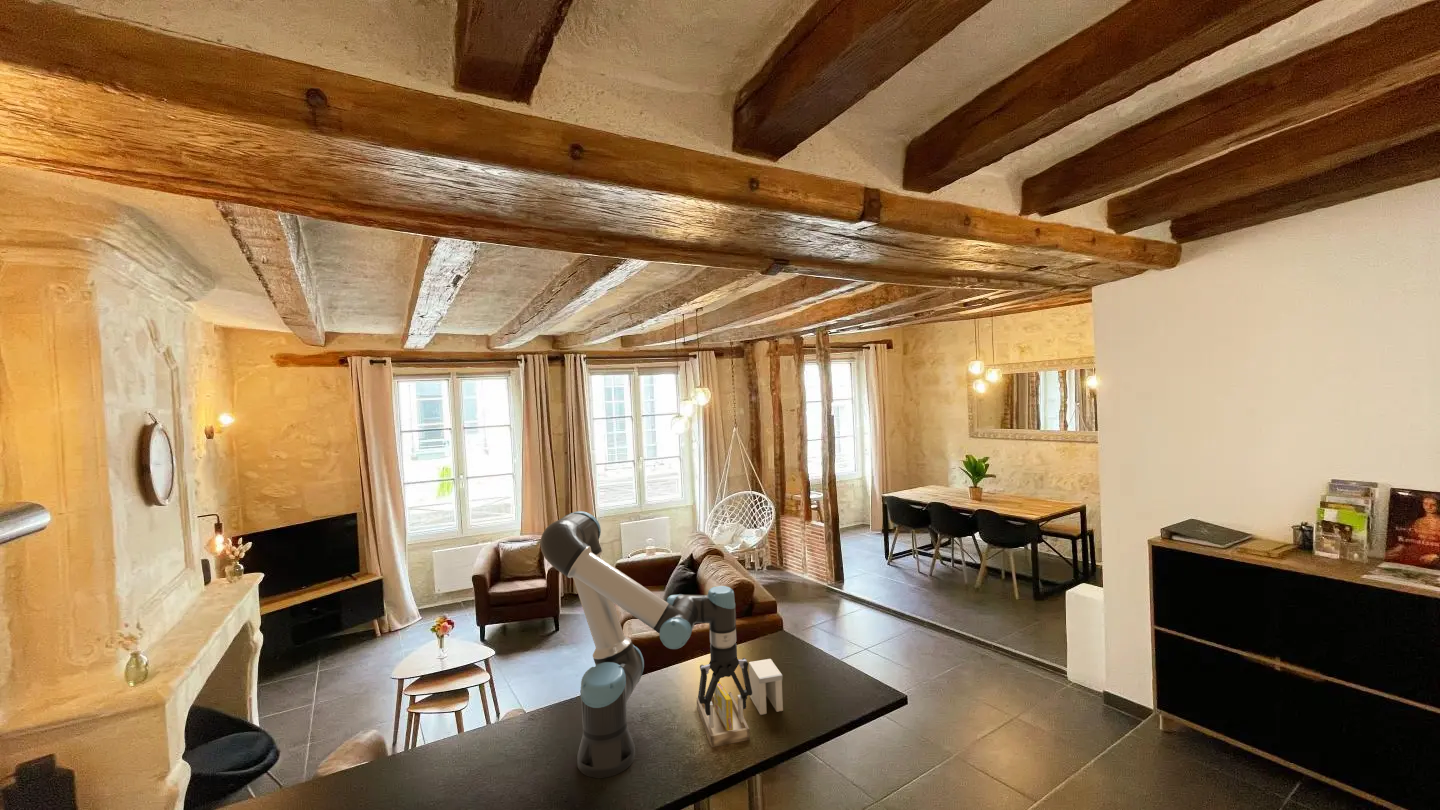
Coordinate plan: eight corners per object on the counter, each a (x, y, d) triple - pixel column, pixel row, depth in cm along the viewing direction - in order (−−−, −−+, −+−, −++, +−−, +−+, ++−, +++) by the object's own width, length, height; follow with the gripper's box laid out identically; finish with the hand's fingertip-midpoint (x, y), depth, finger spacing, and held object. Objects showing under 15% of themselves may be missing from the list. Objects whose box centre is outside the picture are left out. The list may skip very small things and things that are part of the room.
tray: (711, 747, 153) (711, 736, 153) (696, 707, 172) (696, 698, 172) (749, 739, 155) (749, 729, 155) (731, 701, 175) (730, 692, 175)
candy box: (734, 730, 155) (732, 698, 156) (726, 731, 154) (724, 700, 155) (720, 707, 170) (719, 678, 171) (714, 708, 170) (712, 679, 171)
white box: (761, 716, 166) (759, 679, 166) (750, 697, 177) (748, 662, 177) (783, 712, 168) (782, 675, 168) (771, 693, 179) (770, 658, 178)
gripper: (689, 654, 152) (692, 737, 152) (762, 643, 157) (765, 723, 157) (684, 642, 159) (687, 721, 159) (754, 632, 164) (757, 708, 164)
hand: (726, 722), depth 158 cm, fingers open, 8 cm apart
